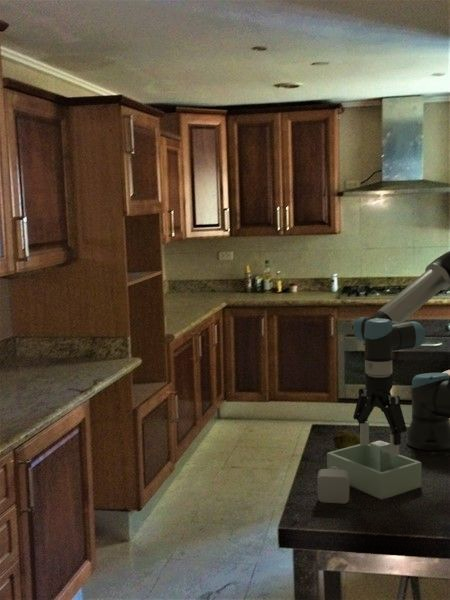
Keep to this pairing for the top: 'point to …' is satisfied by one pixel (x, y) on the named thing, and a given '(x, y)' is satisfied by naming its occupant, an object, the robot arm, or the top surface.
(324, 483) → the wall hook
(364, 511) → the top surface
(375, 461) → the grey l-shaped block
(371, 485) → the open box
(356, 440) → the potato
